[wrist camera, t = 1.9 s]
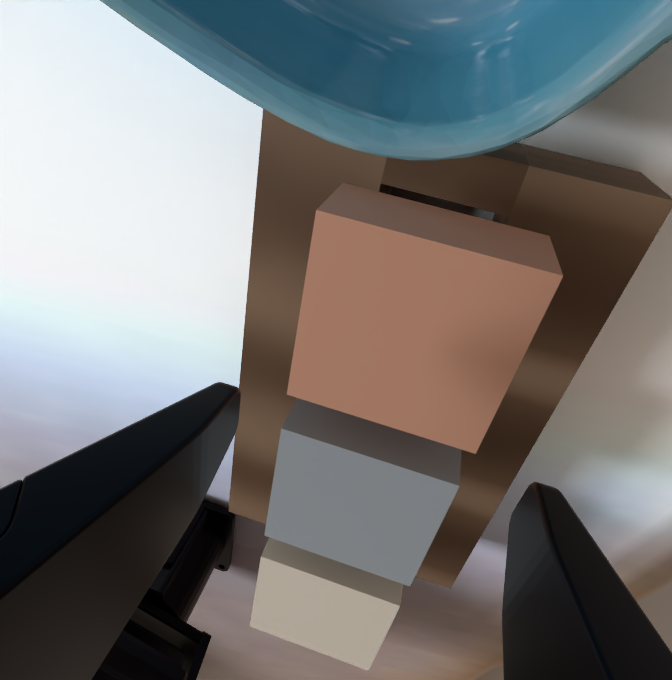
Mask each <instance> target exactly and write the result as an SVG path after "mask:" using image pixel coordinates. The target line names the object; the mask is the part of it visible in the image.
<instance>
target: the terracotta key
mask: <svg viewBox="0 0 672 680" xmlns="http://www.w3.org/2000/svg"><path fill="white" fill-rule="evenodd" d="M562 278H563V273H562V271H561V268H560V265H559V262H558V259H557V256H556V253H555V250H554V248H553V245H552V242H551V239H550V236H548V235H544V234H540V233H536V232H532V231H528V230H524V229H520V228H517V227H513V226H509V225H505V224H501V223H497V222H493V221H490V220H486V219H482V218H478V217H474V216H470V215H466V214H462V213H459V212H455V211H451V210H447V209H443V208H439V207H435V206H432V205H428V204H424V203H420V202H416V201H412V200H408V199H404V198H401V197H397V196H393V195H389V194H385V193H381V192H377V191H374V190H370V189H366V188H362V187H358V186H354V185H350V184H346V183H342V184H341V185H340V186H339V187H338V188H337V189H336V190H335V191H334V192H333V193H332V194H331V195H330V196H329V197H328V198H327V199H326V200H325V201H324V202H323V203H322V204H321V205H320V207H319V208H318V209H317V210H316V214H315V220H314V227H313V233H312V239H311V245H310V252H309V258H308V264H307V270H306V277H305V283H304V289H303V295H302V302H301V308H300V314H299V320H298V327H297V333H296V339H295V346H294V352H293V358H292V364H291V371H290V377H289V383H288V389H287V395H290V396H293V397H296V398H299V399H303V400H306V401H309V402H312V403H315V404H318V405H322V406H325V407H328V408H331V409H334V410H338V411H341V412H344V413H347V414H350V415H353V416H357V417H360V418H363V419H366V420H369V421H373V422H376V423H379V424H382V425H385V426H388V427H392V428H395V429H398V430H401V431H404V432H408V433H411V434H414V435H417V436H420V437H423V438H427V439H430V440H433V441H436V442H439V443H443V444H446V445H449V446H452V447H455V448H458V449H462V450H465V451H468V452H471V453H474V454H476V452H477V450H478V448H479V446H480V444H481V442H482V440H483V438H484V436H485V434H486V432H487V430H488V428H489V426H490V424H491V422H492V420H493V418H494V416H495V414H496V412H497V409H498V407H499V405H500V403H501V401H502V399H503V397H504V395H505V393H506V391H507V389H508V387H509V385H510V383H511V381H512V379H513V377H514V375H515V373H516V371H517V369H518V367H519V365H520V363H521V361H522V359H523V357H524V355H525V353H526V351H527V349H528V347H529V345H530V343H531V341H532V338H533V336H534V334H535V332H536V330H537V328H538V326H539V324H540V322H541V320H542V318H543V316H544V314H545V312H546V310H547V308H548V306H549V304H550V302H551V300H552V298H553V296H554V294H555V292H556V290H557V288H558V286H559V284H560V282H561V280H562Z"/></svg>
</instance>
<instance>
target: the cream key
mask: <svg viewBox="0 0 672 680" xmlns="http://www.w3.org/2000/svg"><path fill="white" fill-rule="evenodd" d="M402 591H403V584H401V583H398V582H395V581H392V580H390V579H387V578H384V577H381V576H378V575H375V574H372V573H370V572H367V571H364V570H361V569H358V568H355V567H352V566H350V565H347V564H344V563H341V562H338V561H335V560H333V559H330V558H327V557H324V556H321V555H318V554H315V553H313V552H310V551H307V550H304V549H301V548H298V547H295V546H293V545H290V544H287V543H284V542H281V541H278V540H276V539H273V538H270V537H269V539H268V541H267V543H266V546H265V548H264V550H263V553H262V555H261V559H260V565H259V572H258V578H257V584H256V590H255V597H254V603H253V609H252V615H251V621H250V627H253V628H255V629H258V630H261V631H264V632H266V633H269V634H272V635H274V636H277V637H280V638H282V639H285V640H288V641H290V642H293V643H296V644H298V645H301V646H304V647H306V648H309V649H312V650H314V651H317V652H320V653H322V654H325V655H328V656H330V657H333V658H336V659H338V660H341V661H344V662H346V663H349V664H352V665H354V666H357V667H360V668H362V669H365V670H368V671H369V669H370V667H371V665H372V663H373V661H374V659H375V657H376V655H377V653H378V650H379V648H380V646H381V644H382V642H383V640H384V638H385V636H386V634H387V632H388V630H389V628H390V626H391V624H392V622H393V620H394V618H395V616H396V614H397V612H398V610H399V608H400V605H401V598H402Z"/></svg>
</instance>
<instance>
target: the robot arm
mask: <svg viewBox="0 0 672 680" xmlns="http://www.w3.org/2000/svg"><path fill="white" fill-rule="evenodd" d="M240 401H241V392H240V389H239V388H237V387H235V386H232V385H228V384H225V383H222V382H218V383H215V384H213V385H211V386H209V387H207V388H205V389H203V390H201V391H198V392H196V393H194V394H192V395H190V396H188V397H186V398H184V399H182V400H180V401H178V402H176V403H174V404H172V405H170V406H168V407H166V408H164V409H162V410H160V411H158V412H156V413H154V414H152V415H150V416H148V417H146V418H144V419H142V420H139V421H137V422H135V423H133V424H131V425H129V426H127V427H125V428H123V429H121V430H119V431H117V432H115V433H113V434H111V435H109V436H107V437H105V438H103V439H101V440H99V441H97V442H95V443H93V444H91V445H89V446H87V447H85V448H83V449H80V450H78V451H76V452H74V453H72V454H70V455H68V456H66V457H64V458H62V459H60V460H58V461H56V462H54V463H52V464H50V465H48V466H46V467H44V468H42V469H40V470H38V471H36V472H34V473H32V474H30V475H28V476H26V477H25V478H24V480H23V481H22V480H17V481H15V482H13V483H11V484H9V485H7V486H5V487H3V488H1V489H0V680H196V678H197V675H198V673H199V670H200V667H201V664H202V661H203V659H204V656H205V653H206V650H207V647H208V644H209V642H210V639H211V635H209V634H208V633H206V632H204V631H203V632H201V631H199V630H197V629H196V628H194V627H192V626H191V625H189V624H187V623H186V622H187V620H188V618H189V616H190V615H191V613H192V611H193V609H194V607H195V605H196V603H197V601H198V599H199V597H200V595H201V593H202V591H203V589H204V587H205V585H206V583H207V581H208V579H209V577H210V575H211V573H212V571H213V569H214V568H215V569H218V570H221V571H227V570H228V569H229V567H230V564H231V556H232V546H233V536H234V526H235V514H234V513H232V512H229V510H228V509H226V508H223V507H220V506H217V505H214V504H211V503H208V502H205V501H203V499H204V497H205V495H206V493H207V491H208V489H209V487H210V485H211V483H212V481H213V479H214V477H215V474H216V472H217V470H218V468H219V466H220V464H221V462H222V460H223V458H224V456H225V454H226V452H227V450H228V447H229V445H230V443H231V441H232V439H233V437H234V435H235V433H236V430H237V427H238V422H239V412H240ZM502 635H503V668H504V680H672V653H671V651H670V650H669V648H668V647H667V645H666V644H665V643H664V641H663V640H662V638H661V637H660V635H659V634H658V632H657V631H656V629H655V628H654V627H653V625H652V624H651V622H650V621H649V619H648V618H647V616H646V615H645V613H644V612H643V611H642V609H641V608H640V606H639V605H638V603H637V602H636V600H635V599H634V597H633V596H632V595H631V593H630V592H629V590H628V589H627V587H626V586H625V584H624V583H623V581H622V580H621V579H620V577H619V576H618V574H617V573H616V571H615V570H614V568H613V567H612V565H611V564H610V563H609V561H608V560H607V558H606V557H605V555H604V554H603V552H602V551H601V549H600V548H599V547H598V545H597V544H596V542H595V541H594V539H593V538H592V536H591V535H590V534H589V532H588V531H587V529H586V528H585V526H584V525H583V523H582V522H581V520H580V519H579V518H578V516H577V515H576V513H575V512H574V510H573V509H572V507H571V506H570V504H569V503H568V502H567V500H566V499H565V497H564V496H563V494H562V493H561V492H560V491H559V490H558V489H556V488H554V487H551V486H547V485H544V484H541V483H538V482H534V483H532V484H530V485H529V487H528V488H527V490H526V491H525V493H524V495H523V496H522V498H521V500H520V501H519V503H518V504H517V506H516V508H515V509H514V511H513V513H512V516H511V519H510V525H509V536H508V547H507V559H506V571H505V583H504V595H503V609H502Z"/></svg>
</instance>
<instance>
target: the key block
mask: <svg viewBox="0 0 672 680" xmlns="http://www.w3.org/2000/svg"><path fill="white" fill-rule="evenodd" d="M342 183H346V184H350V185H354V186H358V187H362V188H366V189H370V190H374V191H377V192H381V193H385V194H389V192H390V188H391V186H393V187H396V188H400V189H404V190H408V191H412V192H416V193H420V194H424V195H428V196H432V197H435V198H439V199H443V200H447V201H451V202H455V203H459V204H463V205H467V206H470V207H474V208H478V209H482V210H486V211H490V212H494V213H495V215H494V218H493V220H492V221H493V222H497V223H501V224H505V225H509V226H513V227H517V228H520V229H524V230H528V231H532V232H536V233H540V234H544V235H548V236H550V239H551V242H552V245H553V248H554V250H555V253H556V256H557V259H558V262H559V265H560V268H561V271H562V273H563V278H562V280H561V282H560V284H559V286H558V288H557V290H556V292H555V294H554V296H553V298H552V300H551V302H550V304H549V306H548V308H547V310H546V312H545V314H544V316H543V318H542V320H541V322H540V324H539V326H538V328H537V330H536V332H535V334H534V336H533V338H532V341H531V343H530V345H529V347H528V349H527V351H526V353H525V355H524V357H523V359H522V361H521V363H520V365H519V367H518V369H517V371H516V373H515V375H514V377H513V379H512V381H511V383H510V385H509V387H508V389H507V391H506V393H505V395H504V397H503V399H502V401H501V403H500V405H499V407H498V409H497V412H496V414H495V416H494V418H493V420H492V422H491V424H490V426H489V428H488V430H487V432H486V434H485V436H484V438H483V440H482V442H481V444H480V446H479V448H478V450H477V452H476V454H474V453H471V452H468V451H465V450H462V449H461V469H460V486H459V488H458V490H457V492H456V494H455V497H454V499H453V501H452V503H451V505H450V507H449V509H448V511H447V513H446V515H445V517H444V519H443V521H442V523H441V525H440V527H439V529H438V531H437V533H436V535H435V537H434V539H433V541H432V543H431V545H430V547H429V549H428V551H427V553H426V555H425V557H424V559H423V561H422V563H421V566H420V568H419V570H418V572H417V574H416V577H418V578H421V579H424V580H427V581H430V582H433V583H436V584H439V585H441V586H444V587H447V588H451V586H452V585H453V583H454V581H455V580H456V578H457V576H458V574H459V573H460V571H461V569H462V567H463V566H464V564H465V562H466V561H467V559H468V557H469V555H470V554H471V552H472V550H473V549H474V547H475V545H476V543H477V542H478V540H479V538H480V537H481V535H482V533H483V531H484V530H485V528H486V526H487V525H488V523H489V521H490V519H491V518H492V516H493V514H494V513H495V511H496V509H497V507H498V506H499V504H500V502H501V500H502V499H503V497H504V495H505V494H506V492H507V490H508V488H509V487H510V485H511V483H512V482H513V480H514V478H515V476H516V475H517V473H518V471H519V470H520V468H521V466H522V464H523V463H524V461H525V459H526V458H527V456H528V454H529V452H530V451H531V449H532V447H533V445H534V444H535V442H536V440H537V439H538V437H539V435H540V433H541V432H542V430H543V428H544V427H545V425H546V423H547V421H548V420H549V418H550V416H551V415H552V413H553V411H554V409H555V408H556V406H557V404H558V403H559V401H560V399H561V397H562V396H563V394H564V392H565V391H566V389H567V387H568V385H569V384H570V382H571V380H572V378H573V377H574V375H575V373H576V372H577V370H578V368H579V366H580V365H581V363H582V361H583V360H584V358H585V356H586V354H587V353H588V351H589V349H590V348H591V346H592V344H593V342H594V341H595V339H596V337H597V336H598V334H599V332H600V330H601V329H602V327H603V325H604V323H605V322H606V320H607V318H608V317H609V315H610V313H611V311H612V310H613V308H614V306H615V305H616V303H617V301H618V299H619V298H620V296H621V294H622V293H623V291H624V289H625V287H626V286H627V284H628V282H629V281H630V279H631V277H632V275H633V274H634V272H635V270H636V269H637V267H638V265H639V263H640V262H641V260H642V258H643V256H644V255H645V253H646V251H647V250H648V248H649V246H650V244H651V243H652V241H653V239H654V238H655V236H656V234H657V232H658V231H659V229H660V227H661V226H662V224H663V222H664V220H665V219H666V217H667V215H668V214H669V212H670V210H671V208H672V198H671V197H670V196H669V195H667V194H666V193H665V192H664V191H662V190H661V189H660V188H659V187H658V186H656V185H655V184H654V183H653V182H652V181H650V180H649V179H648V178H647V177H645V176H644V175H643V174H642V173H640V172H636V171H632V170H628V169H623V168H619V167H615V166H611V165H607V164H602V163H598V162H594V161H590V160H586V159H582V158H577V157H573V156H569V155H565V154H561V153H556V152H552V151H548V150H544V149H540V148H536V147H531V146H527V145H523V144H519V143H513V144H511V145H509V146H506V147H504V148H502V149H499V150H496V151H492V152H488V153H484V154H480V155H476V156H472V157H467V158H457V159H447V160H437V161H424V160H403V159H397V158H390V157H383V156H378V155H374V154H369V153H365V152H361V151H357V150H354V149H351V148H347V147H344V146H341V145H338V144H335V143H332V142H329V141H327V140H324V139H322V138H320V137H318V136H316V135H314V134H312V133H310V132H307V131H305V130H303V129H301V128H299V127H297V126H295V125H293V124H290V123H288V122H286V121H285V120H283V119H281V118H279V117H277V116H276V115H274V114H272V113H270V112H269V111H267V110H265V109H263V119H262V130H261V142H260V153H259V165H258V177H257V188H256V200H255V211H254V223H253V234H252V246H251V257H250V269H249V281H248V292H247V304H246V315H245V327H244V338H243V350H242V361H241V373H240V385H239V389H240V392H241V401H240V412H239V422H238V427H237V430H236V433H235V442H234V454H233V465H232V477H231V489H230V500H229V512H232V513H235V514H237V515H240V516H243V517H246V518H249V519H252V520H255V521H258V522H260V523H263V524H266V521H267V515H268V509H269V502H270V496H271V490H272V484H273V477H274V471H275V465H276V458H277V452H278V446H279V440H280V433H281V428H282V426H283V424H284V422H285V420H286V418H287V416H288V415H289V413H290V411H291V409H292V407H293V405H294V403H295V401H296V399H297V398H296V397H293V396H290V395H287V389H288V383H289V377H290V371H291V364H292V358H293V352H294V346H295V339H296V333H297V327H298V320H299V314H300V308H301V302H302V295H303V289H304V283H305V277H306V270H307V264H308V258H309V252H310V245H311V239H312V233H313V227H314V220H315V214H316V210H317V209H318V208H319V207H320V205H321V204H322V203H323V202H324V201H325V200H326V199H327V198H328V197H329V196H330V195H331V194H332V193H333V192H334V191H335V190H336V189H337V188H338V187H339V186H340V185H341V184H342Z"/></svg>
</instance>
